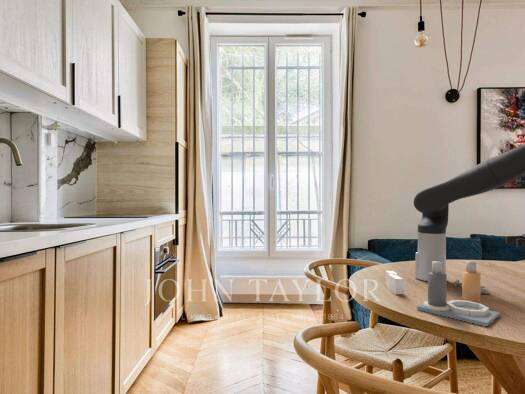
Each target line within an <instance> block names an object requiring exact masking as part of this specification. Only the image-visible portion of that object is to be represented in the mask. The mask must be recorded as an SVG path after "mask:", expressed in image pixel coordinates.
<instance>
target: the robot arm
mask: <svg viewBox="0 0 525 394" xmlns="http://www.w3.org/2000/svg"><path fill="white" fill-rule="evenodd" d="M523 175H525V143H524V144H522V145H519V146H517V147H514V148H511V149H509V150H507V151H505V152H502V153H501V154H498V155H495V156H493V157H491V158H489V159H487V160H485V161H482V162H481V163H479V164H478V163H477V164H476V165H475V166H471V168H469V169H466V170H465V171H463V172H461V173H459V174H458V175H455V176H454V177H452V178H450V179H448V180H446V181H443V182H441V183H437V184H435V185H433V186H430V187H427V188H424V189H422V190H420V191H418V192H417V193H416V195H415V196H414V199H413V207H414V208H415V209H416V211H418V212H419V213H421V216H422V217H421V220H420V222H419V223H418V225H417V252H415V256H414V257H415V271H414V272H415V277H414V278H415V279H418V280H421V281H425V282H428V272H432V261H439V262H442V273H446V272H447V227H448V224H449V211H450V210H449V207H450V205H449V204H452V203H454V202H455V201H458V200H461V199H465V198H469V197H473V196H476V195H481V194H484V193H486V192H490V191H493V190H496V189H497V188H500V187H502V186H505V185H508V184H509V183H512V182H514V181H515V180H517V179H518V178H520V177H521V176H522V177H523ZM505 242H506V244H507V245H516V247H517V248H524V249H525V233H523V234H521V235H507V236H505ZM446 274H447V273H446Z"/></svg>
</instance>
